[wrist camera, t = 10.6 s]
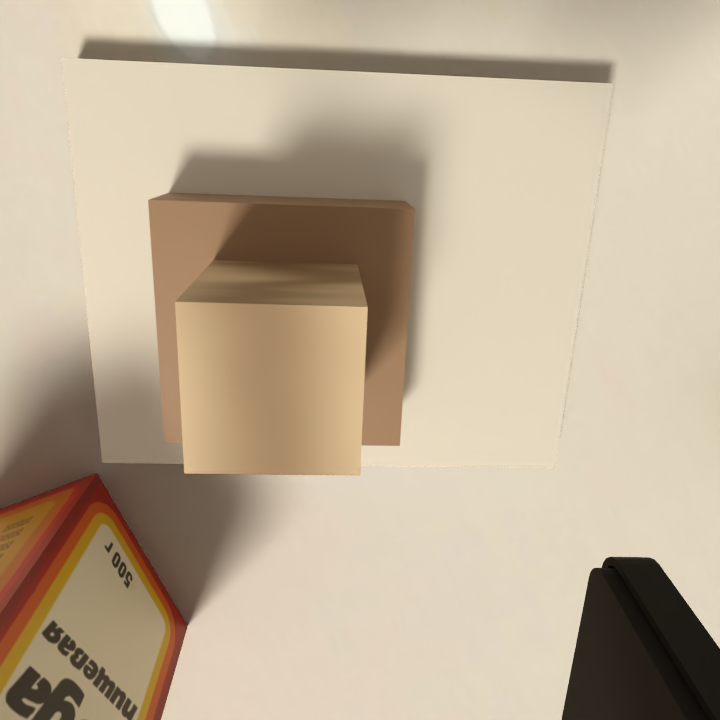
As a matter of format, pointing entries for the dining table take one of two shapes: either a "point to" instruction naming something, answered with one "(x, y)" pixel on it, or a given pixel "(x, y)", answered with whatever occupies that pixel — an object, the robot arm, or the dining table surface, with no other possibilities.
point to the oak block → (272, 368)
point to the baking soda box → (81, 612)
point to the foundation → (344, 238)
